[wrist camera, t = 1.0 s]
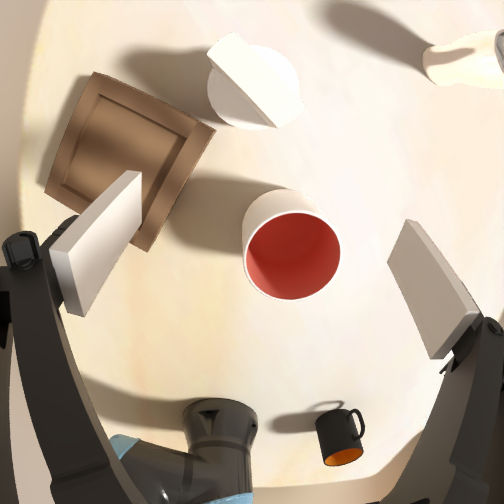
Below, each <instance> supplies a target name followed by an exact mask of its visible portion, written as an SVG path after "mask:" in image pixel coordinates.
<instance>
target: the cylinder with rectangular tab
mask: <svg viewBox="0 0 504 504" xmlns="http://www.w3.org/2000/svg"><path fill="white" fill-rule="evenodd" d="M207 56H208V58H209V60H210V62H211V64H212V66H213V68H212V70H211V72H210V74H209V78H208V82H207V92H208V98H209V101H210V103H211V106H212V108H213V109H214V110H215V112H216V113H217V114H218V116H219V117H220V118H222V119H223V120H224V121H226V122H227V123H228V124H230V125H233V126H235V127H237V128H240V129H246V130H263V129H266V128H269V127H274V128H280V127H283V126H284V125H286V124H288V123H289V122H291V121H293V120H294V119H295V118H296V117H297V116H298V115H299V114H300V113H301V112H302V111H303V110H304V109H305V107H306V104H305V103H304V102H303V101H302V100H301V99H300V98H299V96H298V94H299V81H298V77H297V75H296V72H295V69H294V68H293V66H292V65H291V64H290V62H289V61H288V60H287V59H286V58H285V57H284V56H282V55H281V54H280V53H279V52H277V51H274V50H272V49H270V48H268V47H263V46H257V45H252V46H250V45H249V44H248V43H247V42H246V41H245V40H244V39H243V38H242V37H241V36H240V35H239V34H238V33H236V32H232V33H230V34H228V35H227V36H225V37H223V38H222V39H220V40H218V41H217V42H216V43H215V45H214V46H213V47H212V48H211V49H210V50H209V51H208V53H207Z"/></svg>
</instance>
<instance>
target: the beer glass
mask: <svg viewBox="0 0 504 504" xmlns="http://www.w3.org/2000/svg"><path fill="white" fill-rule="evenodd" d="M422 63H423V68H424V70H425V73H426V74H427V76H428V77H429V79H430V80H431V81H432V82H434V83H435V84H437V85H439V86H449V85H452V84H454V83H464V84H469V85H473V86H477V87H482V88H488V89H504V30H503V29H502V30H489V31H480V32H475V33H472V34H468V35H466V36H464V37H462V38H460V39H458V40H456V41H455V42H453V43H451V44H449V45H447V46H431V47H428V48H427V49H426V50H425V51H424V53H423V57H422Z"/></svg>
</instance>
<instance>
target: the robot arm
mask: <svg viewBox="0 0 504 504" xmlns="http://www.w3.org/2000/svg"><path fill="white" fill-rule="evenodd" d="M141 178H142V172H138V171H128V170H127V171H126V172H125V173H123V174H122V175H121V176H120V177H119V178H118V179H117V180H116V181H115V182H114V183H112V184H111V185H110V186H109V187H108V188H107V189H106V190H105V191H104V192H103V193H102V194H101V195H100V196H99V197H98V198H97V199H96V200H95V201H94V202H93V203H92V204H91V205H90V206H89V207H88V208H87V209H86V210H85V211H84V212H83V213H82V214H81V215H74V216H72V217H70V218H68V219H66V220H65V221H64V222H63V223H62V224H61V225H60V226H59V227H58V229H56V230H55V231H54V232H53V233H52V235H50V236H49V237H48V238H47V239H46V240H45V242H44V243H43V244H42V245H41V246H39V242H38V238H37V235H36V233H34V232H32V231H21V232H18V233H16V234H13V235H11V236H10V237H8V238H7V239H6V240H5V241H4V243H3V245H2V250H3V253H4V257H5V259H6V263H7V266H1V267H0V504H19V500H18V495H17V489H16V484H15V478H14V470H13V462H12V452H11V440H10V422H9V386H10V366H11V354H12V344H13V335H14V342H15V349H16V355H17V361H18V366H19V371H20V376H21V381H22V386H23V390H24V394H25V398H26V402H27V406H28V409H29V413H30V416H31V420H32V423H33V426H34V429H35V432H36V436H37V439H38V442H39V444H40V447H41V450H42V453H43V456H44V458H45V461H46V463H47V466H48V468H49V471H50V474H51V477H52V482H51V485H50V490H51V494H52V497H53V499H54V502H55V504H253V495H254V493H253V489H252V473H251V456H250V450H251V447H252V445H253V442H254V439H255V436H256V433H257V430H258V419H257V415H256V413H255V412H254V411H253V410H252V409H251V408H250V407H248V406H247V405H245V404H242V403H240V402H237V401H233V400H227V399H207V400H202V401H198V402H195V403H193V404H191V405H190V406H188V407H187V408H186V410H185V411H184V414H183V422H182V423H183V429H184V433H185V437H186V440H187V444H188V453H186V452H182V451H178V450H174V449H170V448H166V447H162V446H159V445H155V444H152V443H149V442H146V441H143V440H141V439H139V438H137V439H136V438H132V437H129V436H125V435H122V434H117V435H114V436H112V437H111V438H110V439H108V437H107V435H106V433H105V431H104V429H103V427H102V425H101V423H100V421H99V419H98V416H97V414H96V412H95V410H94V408H93V405H92V403H91V401H90V398H89V396H88V393H87V391H86V389H85V386H84V384H83V381H82V378H81V376H80V373H79V371H78V368H77V365H76V362H75V359H74V357H73V354H72V351H71V348H70V345H69V341H68V338H67V335H66V332H65V328H64V325H63V322H62V318H61V314H60V312H59V307H60V305H61V304H62V302H63V301H64V304H65V307H66V310H67V313H71V314H74V315H78V316H81V317H85V316H86V314H87V312H88V310H89V309H90V307H91V305H92V303H93V301H94V300H95V298H96V296H97V294H98V293H99V291H100V289H101V287H102V286H103V284H104V282H105V280H106V279H107V277H108V275H109V274H110V272H111V270H112V269H113V267H114V265H115V264H116V262H117V261H118V259H119V257H120V256H121V254H122V253H123V251H124V249H125V248H126V246H127V245H128V243H129V241H130V240H131V238H132V237H133V235H134V234H135V232H136V231H137V229H138V228H139V226H140V225H141V223H142V206H141ZM387 263H388V265H389V267H390V269H391V271H392V273H393V275H394V277H395V280H396V282H397V284H398V286H399V288H400V290H401V292H402V294H403V296H404V299H405V301H406V303H407V305H408V307H409V310H410V312H411V314H412V316H413V319H414V321H415V323H416V326H417V328H418V330H419V333H420V335H421V338H422V340H423V343H424V345H425V348H426V350H427V353H428V355H429V358H430V359H444V358H445V356H446V355H447V354H448V353H449V352H450V350H451V349H452V352H453V354H454V356H453V357H452V358H451V360H450V361H449V362H448V363H447V364H446V365H445V366H444V367H443V369H442V370H441V371H440V372H439V373H440V374H442V373H443V372H444V371H446V373H445V375H444V379H443V382H442V385H441V388H440V390H439V393H438V396H437V399H436V401H435V404H434V406H433V409H432V411H431V414H430V416H429V419H428V421H427V423H426V426H425V428H424V430H423V432H422V435H421V437H420V439H419V441H418V443H417V445H416V447H415V450H414V451H413V454H412V455H411V458H410V460H409V461H408V463H407V465H406V467H405V469H404V471H403V473H402V474H401V476H400V478H399V480H398V482H397V483H396V485H395V487H394V488H393V490H392V491H391V492H390V493H389V494H388V495H387V496H386V497H385V498H383V499H382V500H381V501H380V502H379V501H378V502H373V503H367V504H504V330H503V329H502V327H501V326H500V324H499V323H498V322H497V321H496V320H494V319H492V318H491V317H485V318H484V316H483V314H482V313H481V311H480V309H479V308H478V306H477V304H476V303H475V301H474V299H473V298H471V297H472V296H471V295H470V293H469V292H468V290H467V288H466V287H465V285H464V284H463V282H462V281H461V280H460V279H459V277H458V276H457V274H456V273H455V272H454V270H453V269H452V267H451V266H450V264H449V263H448V261H447V260H446V259H445V257H444V256H443V254H442V253H441V252H440V250H439V249H438V248H437V246H436V245H435V244H434V242H433V241H432V240H431V238H430V237H429V236H428V234H427V233H426V232H425V230H424V229H423V228H422V227H421V225H420V224H419V223H418V222H417V221H413V220H409V219H406V221H405V223H404V225H403V228H402V230H401V232H400V235H399V237H398V239H397V241H396V244H395V246H394V248H393V250H392V252H391V254H390V257H389V259H388V261H387Z"/></svg>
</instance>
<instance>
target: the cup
mask: <svg viewBox="0 0 504 504" xmlns="http://www.w3.org/2000/svg"><path fill="white" fill-rule="evenodd" d="M242 249H243V266H244V270H245V273H246V276H247V278H248V279H249V281H250V283H251V284H252V285H253V286H254V287H255V288H256V289H257V290H258V291H259V292H260V293H262V294H263V295H265V296H267V297H269V298H272V299H275V300H279V301H299V300H304V299H307V298H310V297H312V296H314V295H316V294H318V293H319V292H321V291H322V290H324V289H325V288H326V287H327V286H328V285H329V284H330V283H331V282H332V281H333V279H334V278H335V276H336V275H337V273H338V271H339V268H340V266H341V262H342V256H343V247H342V242H341V238H340V236H339V233H338V232H337V230H336V228H335V227H334V226H333V224H332V223H331V222H330V221H329V220H328V219H327V217H326V216H325V215H324V214H323V213H322V212H321V210H320V209H319V208H318V207H317V206H316V205H315V204H314V202H313V201H312V200H311V199H310V198H308V197H307V196H305V195H304V194H302V193H300V192H297V191H294V190H289V189H278V190H273V191H269V192H267V193H265V194H263V195H261V196H260V197H258V198H257V199H256V200H255V201H254V202H253V203H252V204H251V205H250V206H249V208H248V209H247V211H246V213H245V215H244V218H243V223H242Z"/></svg>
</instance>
